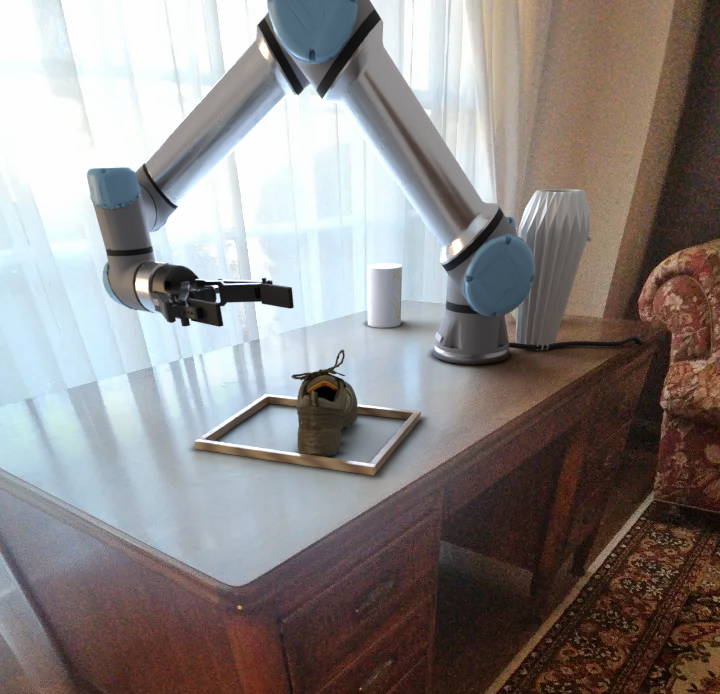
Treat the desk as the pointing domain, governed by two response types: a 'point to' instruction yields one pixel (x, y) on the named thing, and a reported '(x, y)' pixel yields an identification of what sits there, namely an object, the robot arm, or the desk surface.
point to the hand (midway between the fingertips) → (257, 306)
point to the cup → (384, 294)
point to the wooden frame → (371, 468)
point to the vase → (551, 260)
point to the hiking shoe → (324, 410)
